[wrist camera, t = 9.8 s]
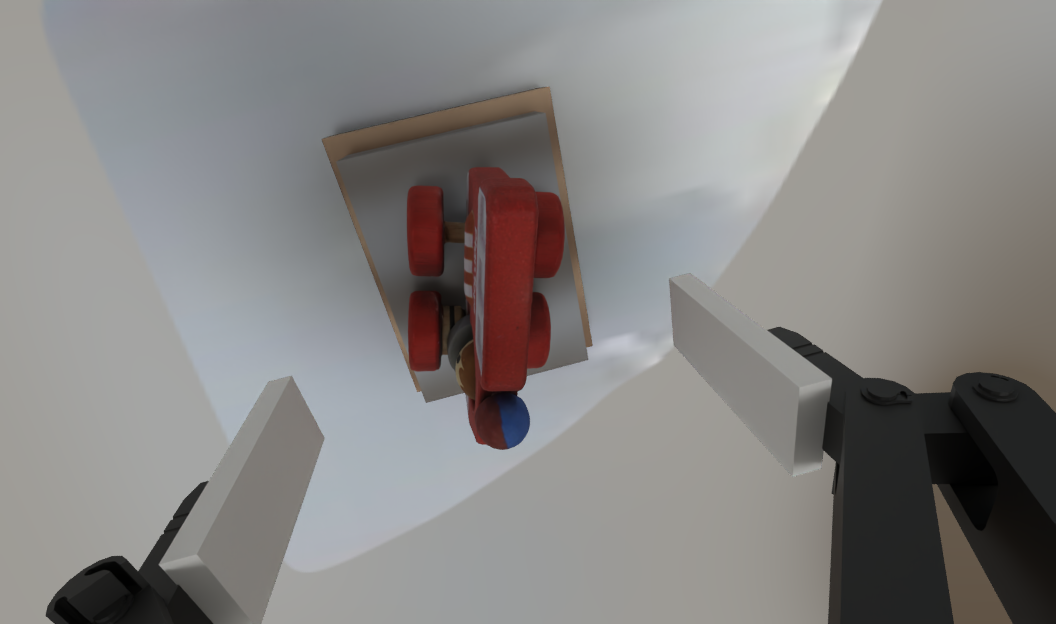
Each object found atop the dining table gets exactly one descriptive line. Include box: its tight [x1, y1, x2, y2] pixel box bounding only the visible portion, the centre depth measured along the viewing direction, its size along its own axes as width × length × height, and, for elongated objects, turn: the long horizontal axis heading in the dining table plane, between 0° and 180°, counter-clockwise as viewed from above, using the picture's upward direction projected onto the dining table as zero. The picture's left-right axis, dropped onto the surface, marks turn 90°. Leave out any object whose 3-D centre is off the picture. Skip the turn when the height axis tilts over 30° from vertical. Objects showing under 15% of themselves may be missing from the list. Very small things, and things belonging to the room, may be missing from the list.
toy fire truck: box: [407, 167, 565, 450], centre depth 20 cm, size 7×12×10 cm, turn 175°
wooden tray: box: [322, 87, 592, 403], centre depth 27 cm, size 16×12×6 cm
